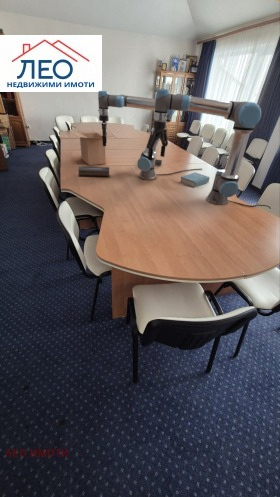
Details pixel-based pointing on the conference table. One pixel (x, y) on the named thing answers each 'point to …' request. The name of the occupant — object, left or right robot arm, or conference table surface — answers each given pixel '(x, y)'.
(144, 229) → the conference table surface
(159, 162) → the laser sight
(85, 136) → the box
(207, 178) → the book
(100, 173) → the rod
